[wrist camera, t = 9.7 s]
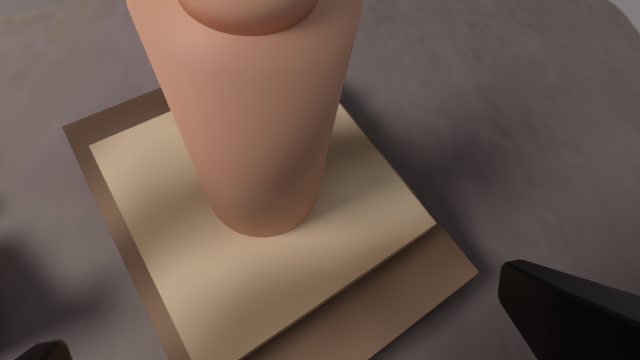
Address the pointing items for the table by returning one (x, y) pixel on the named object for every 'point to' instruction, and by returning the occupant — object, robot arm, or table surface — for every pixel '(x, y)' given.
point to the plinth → (329, 324)
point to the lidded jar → (252, 97)
